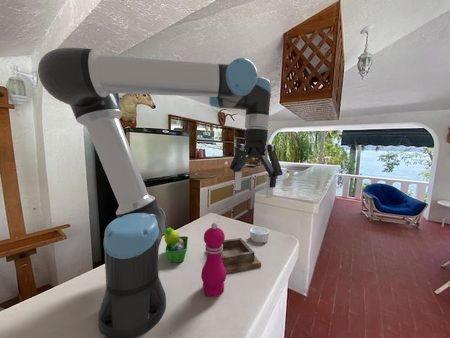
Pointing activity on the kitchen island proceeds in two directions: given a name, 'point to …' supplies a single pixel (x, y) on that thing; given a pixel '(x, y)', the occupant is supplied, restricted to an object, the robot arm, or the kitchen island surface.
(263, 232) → the ramekin
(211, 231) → the pepper mill
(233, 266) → the walnut stand
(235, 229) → the kitchen island surface
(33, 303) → the kitchen island surface
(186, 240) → the fruit basket
